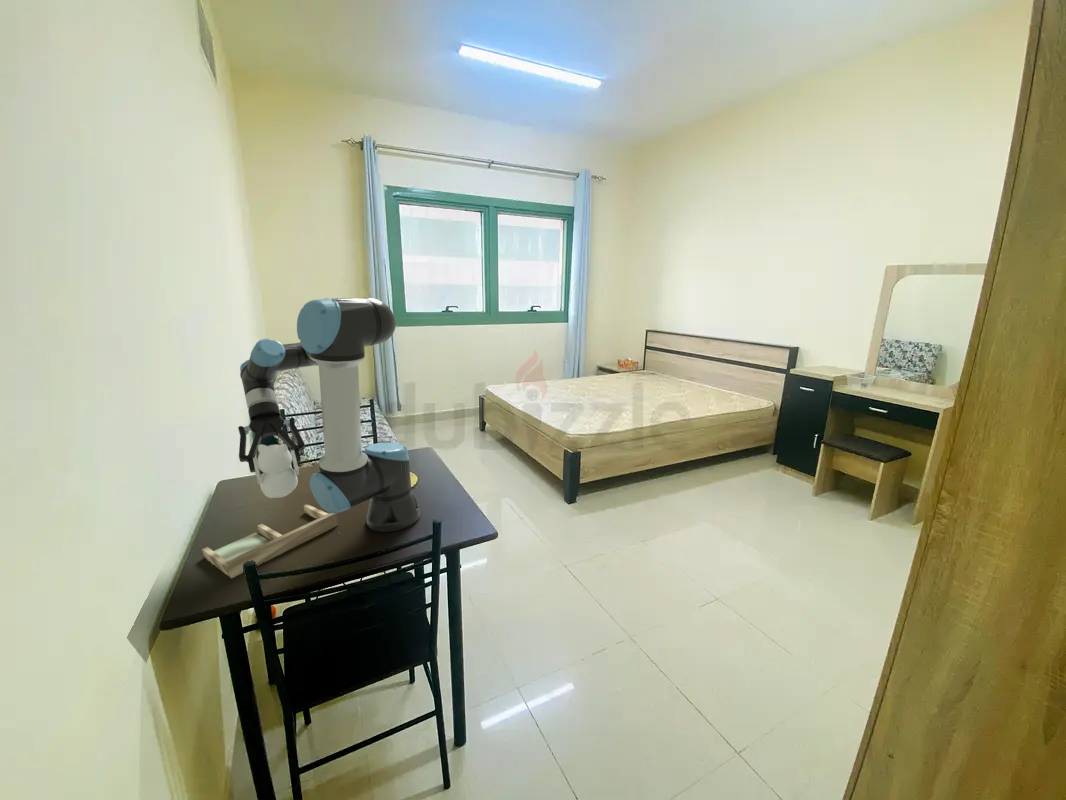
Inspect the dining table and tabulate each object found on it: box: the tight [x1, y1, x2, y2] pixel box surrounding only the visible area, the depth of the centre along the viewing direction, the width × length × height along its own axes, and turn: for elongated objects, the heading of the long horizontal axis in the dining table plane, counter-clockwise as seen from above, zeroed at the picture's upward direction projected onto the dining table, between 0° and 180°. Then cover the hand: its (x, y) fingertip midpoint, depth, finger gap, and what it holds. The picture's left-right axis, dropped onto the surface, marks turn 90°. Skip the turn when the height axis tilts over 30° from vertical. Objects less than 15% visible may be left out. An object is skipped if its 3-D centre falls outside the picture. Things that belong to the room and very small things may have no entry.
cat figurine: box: [257, 443, 298, 499], centre depth 116 cm, size 9×12×15 cm
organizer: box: [201, 503, 339, 579], centre depth 116 cm, size 16×28×4 cm, turn 147°
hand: (278, 477), depth 114 cm, fingers closed on cat figurine, 8 cm apart
